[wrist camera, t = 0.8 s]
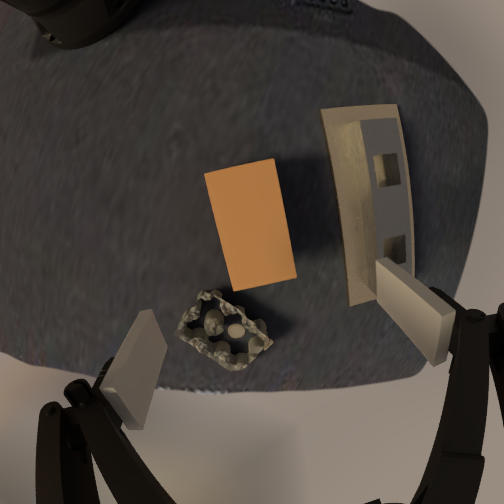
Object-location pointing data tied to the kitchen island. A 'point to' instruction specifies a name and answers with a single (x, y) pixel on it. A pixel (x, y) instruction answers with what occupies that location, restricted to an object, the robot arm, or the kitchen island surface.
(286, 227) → the orange toy brick
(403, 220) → the beige grey stepped block
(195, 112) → the kitchen island surface
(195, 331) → the egg carton
